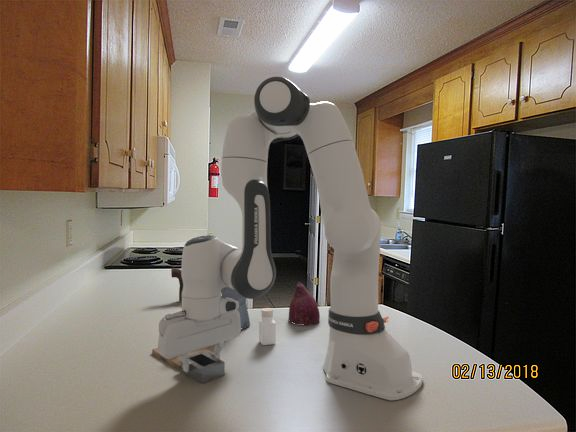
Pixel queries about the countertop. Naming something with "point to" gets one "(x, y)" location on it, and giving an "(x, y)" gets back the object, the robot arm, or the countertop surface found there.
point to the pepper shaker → (267, 327)
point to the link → (205, 367)
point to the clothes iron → (177, 274)
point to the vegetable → (303, 307)
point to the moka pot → (242, 304)
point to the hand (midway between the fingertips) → (202, 365)
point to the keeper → (176, 361)
